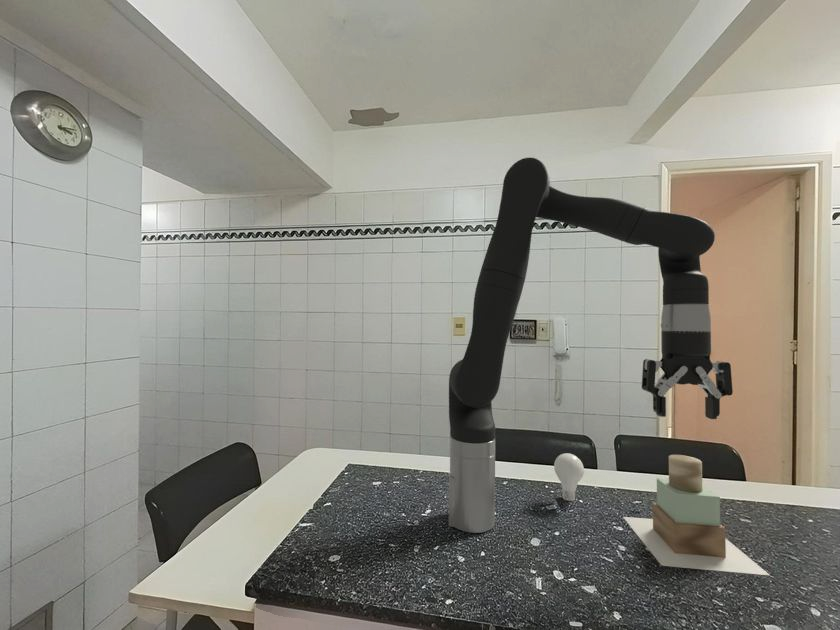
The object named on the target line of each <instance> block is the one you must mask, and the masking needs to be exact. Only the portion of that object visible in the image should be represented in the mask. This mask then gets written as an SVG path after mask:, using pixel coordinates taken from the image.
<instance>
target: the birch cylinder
mask: <svg viewBox="0 0 840 630" xmlns="http://www.w3.org/2000/svg"><path fill="white" fill-rule="evenodd" d="M668 479H669V485H670V486H672V487H673V488H675V489H678V490H681V491H685V492H691V493H699V492H702V485H703V461H701V460H700V458H699V459H698V458H696V457H692V456H688V455H683V454H670V455H668Z"/></svg>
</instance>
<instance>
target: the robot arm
mask: <svg viewBox="0 0 840 630" xmlns="http://www.w3.org/2000/svg"><path fill="white" fill-rule="evenodd" d="M505 173H506V174H505V176H504V179H503V182H502V183H503V184H502V190H501V197H500V205H499V207H498V208H499V209H498V215H497V220H496V222H495V223H496V224H495V227H494V230H493V233H492V234H491V238H490V241H489V243H488V246H487V250H486V252H485V256H484V259H483V262H482V265H481V269H480V272H479V276H478V279H477V283H476V286H475V287H476V288H475V291H474V297H473V306H472V307H473V309H472V323H471V324H472V325H471V326H472V327H471V333H470V337H469V341H468V343H467V346H466V349H465V353H464V355H463V358H462V359H461V360H458V361H457V362H456V363H455V364H454V365H453V367H452V368H451V370H450V374H449V377H448V378H449V379H448V420H449V435H450V437H449V438H450V439H449V441H450V442H449V446H450V447H449V477H448V527H450V528H455V529H457V530H459V531H462V532H465V533H473V534H477V533H478V534H479V533H485V532H489V531H490V530H492V529H493V528H494V526H495V524H496V523H495V520H496V424H495V421H494V416H493V407H492V401H493V400H494V399H495V397H496V396H497V394H498V393H499V390H500V384H501V378H502V377H501V376H502V370H503V364H504V358H505V352H506V348H507V347H506V346H507V343H508V339H509V335H510V332H511V330H512V327H513V323H514V321H515V317H516V313H517V309H518V307H519V306H518V305H519V303H520V299H521V296H522V293H523V289H524V285H525V282H526V277H527V271H528V267H529V261H530V255H531V254H530V253H531V252H530V251H531V243H532V235H533V229H534V225H535V223H536V222H535V221H536V218H539V219H545V220H549V221H555V222H558V223H563V224H567V225H572V226H575V227H579V228H582V229H584V230H585V229H586V230H589V231H592V232H595V233H598V234H601V235H604V236H607V237H610V238H612V239H615V240H618V241H621V242H624V243H627V244H629V245H630V244H631V245H634V246H641V245H648V246H651V247H655V248H658V250H657V252H658V262H659V267H660V273H661V277H662V282H663V283H662V284H663V285H662V311H661V318H660V319H661V320H660V321H661V323H660V329H661V334H660V335H661V339H660V341H661V349H660V350H661V351H660V352H661V354H662V355H661V359H660V360H653V359H648V358H645V359H644V360H643V361H642V373H641V374H642V376H641V389H642V390H643V391H646V392H648V393H650V394H651V395H652V409H653V412H654V413H655V414H656V415H657V416H659V417H661V418H663V417H666V416H667V398H666V396H665V395H666V394H667V393H668V392H669V390H670V389H672V388H674V387H675V386H676V385H683V386H684V385H688V384H689V385H692V386H698V387H700V388H701V389H702V391H703V392H704V394H705V395H706V396H705V397H704V402H705V403H704V405H705V406H704V407H705V408H704V411H705V412H704V415H705V417H706V418H708V419H710V420H717V419H718V417H719V416H720V413H721V411H720V409H721V408H720V407H721V405H720V404H721V403H720V400H721V398H722V397H725V396H732V395H733V380H732V367H731V366H732V365H731V363H729V362H727V361H721V360H720V361H719V360H717V361H713V362H712V361H711V358H710V357H711V355H712V325H711V324H712V321H711V320H712V319H711V318H712V317H711V312H710V305H709V302H710V299H709V297H710V294H709V293H710V292H709V288H710V285H709V280H708V277H707V275H705V274H704V273H702V270H701V269H702V268H701V261H700V260H701V258H700V257H701V256H702V255H703V254H705V253H707V252H708V251H709V250H710V249H711V248H712V246H713V245H714V242H715V239H716V238H715V237H716V234H715V232H714V230H713V228H712V226H711V225H710V224H708V223H707V222H706V221H704V220H702V219H700V218H698V217H694V216H690V215H686V214H680V213H673V212H666V211H657V210H652V209H649V208H646V207H643V206H640V205H637V204H635V203H631V202H628V201H625V200H620V199H616V198H611V197H601V196H600V197H597V196H595V197H594V196H582V195H574V194H570V193H567V192H564V191H561V190H559V189H557V188H554V187H553V186H550V184H551V181H550V180H551V178H550V177H551V176H550V173H549V171H548V169H547V166H546V165H545V164H544V163H543V162H542V161H541V160H539V159H538V158H535V157H524V158H521V159H519V160H517V161H516V162H514V163H513V164H512V165H511V166H510V167H509V168H508V170H507V172H505ZM659 368H660V369H661V370H662V372H663V374H662V375H660V377H659V378H658V380H657V382H656V373H657V372H658V371H659V370H660V369H659ZM711 371H712V372H713V373H714V375H715V383H714V381H713V380H712V379H711V378H710V376H709V373H711Z"/></svg>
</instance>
